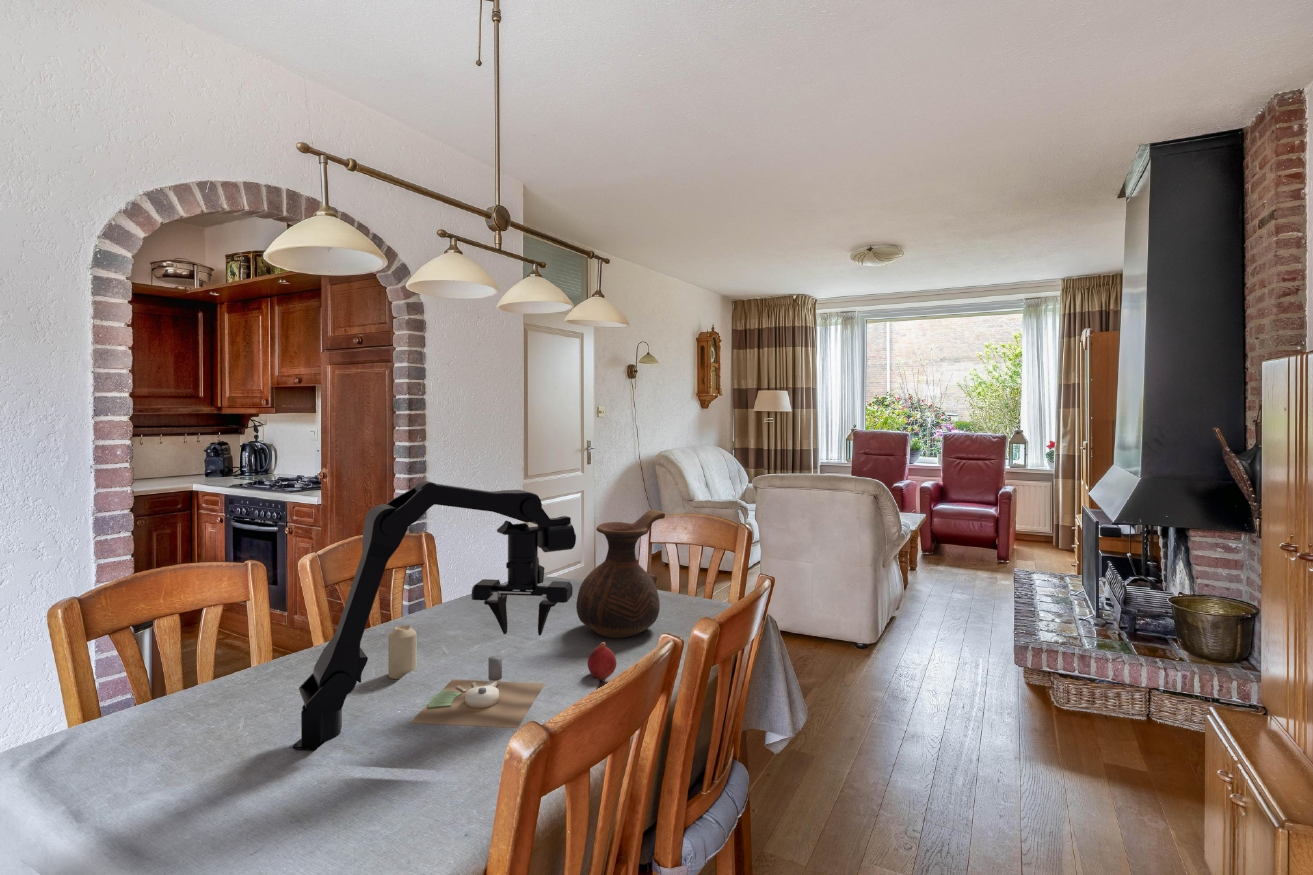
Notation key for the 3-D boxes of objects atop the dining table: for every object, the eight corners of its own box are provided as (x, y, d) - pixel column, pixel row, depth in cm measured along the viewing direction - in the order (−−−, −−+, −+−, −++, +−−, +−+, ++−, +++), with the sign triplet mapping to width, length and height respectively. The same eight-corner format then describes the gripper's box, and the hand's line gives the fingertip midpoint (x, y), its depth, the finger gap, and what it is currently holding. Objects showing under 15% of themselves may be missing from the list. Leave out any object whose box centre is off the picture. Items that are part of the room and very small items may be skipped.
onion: (590, 687, 133) (590, 648, 133) (585, 676, 139) (585, 638, 139) (618, 684, 135) (619, 645, 135) (612, 674, 141) (613, 636, 140)
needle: (492, 708, 120) (492, 679, 120) (460, 706, 121) (460, 677, 121) (512, 682, 132) (512, 655, 132) (482, 681, 133) (482, 654, 132)
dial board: (517, 734, 113) (517, 725, 113) (409, 729, 115) (409, 720, 115) (545, 689, 132) (545, 681, 132) (452, 685, 134) (452, 677, 134)
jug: (653, 646, 158) (655, 520, 157) (565, 641, 161) (566, 517, 160) (666, 619, 179) (668, 508, 178) (588, 615, 182) (589, 505, 181)
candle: (406, 680, 136) (406, 632, 136) (382, 678, 137) (382, 630, 137) (421, 670, 142) (421, 623, 141) (398, 668, 143) (398, 622, 142)
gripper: (578, 548, 137) (577, 623, 138) (489, 545, 139) (489, 620, 139) (566, 559, 126) (566, 641, 127) (470, 557, 128) (470, 637, 128)
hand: (522, 634), depth 130 cm, fingers open, 7 cm apart
